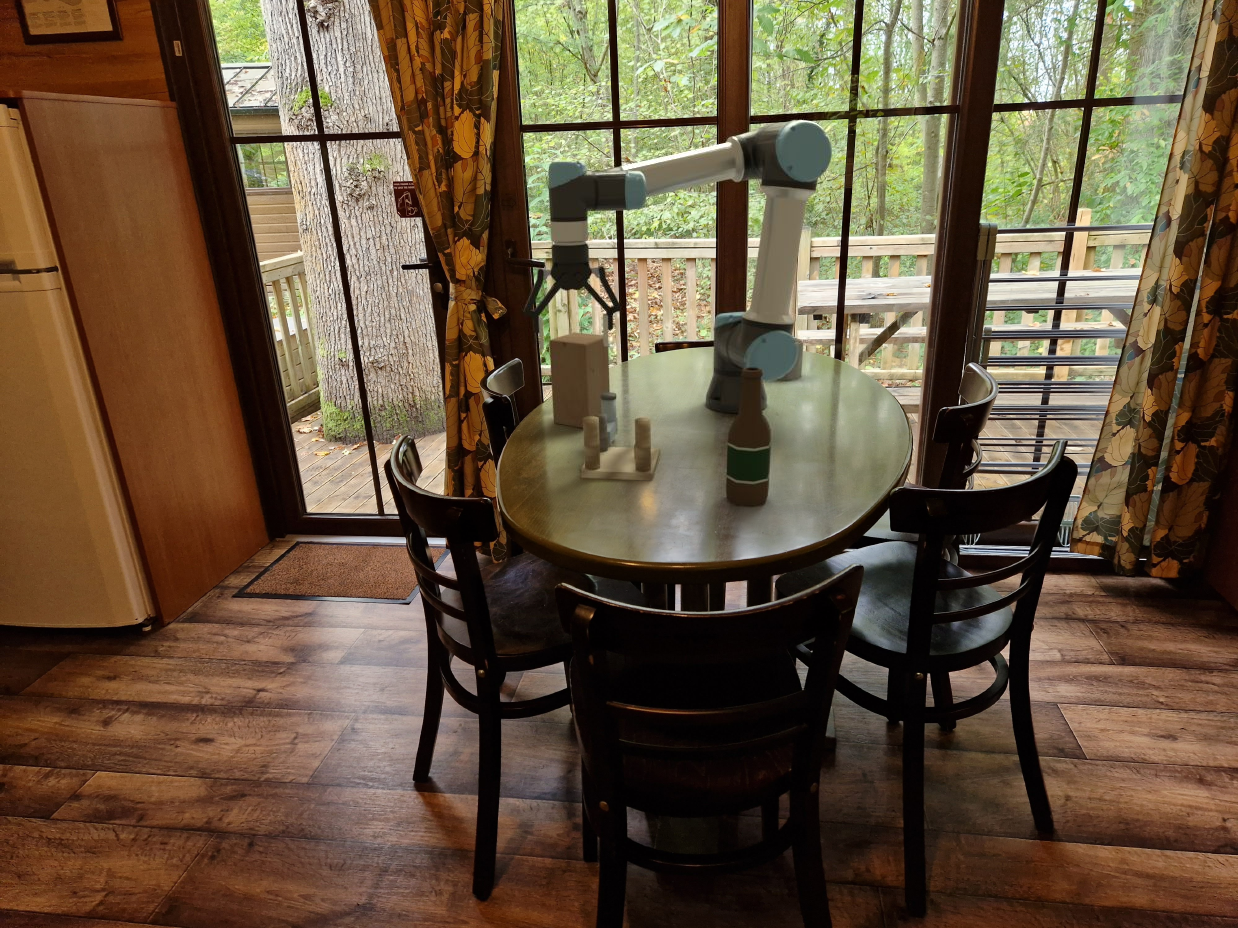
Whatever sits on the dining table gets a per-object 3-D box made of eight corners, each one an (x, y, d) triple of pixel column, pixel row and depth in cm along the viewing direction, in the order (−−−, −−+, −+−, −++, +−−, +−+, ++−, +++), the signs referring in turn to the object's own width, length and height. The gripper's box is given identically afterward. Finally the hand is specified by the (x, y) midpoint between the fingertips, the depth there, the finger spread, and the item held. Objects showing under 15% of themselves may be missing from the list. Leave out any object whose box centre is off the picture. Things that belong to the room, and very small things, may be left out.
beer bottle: (721, 491, 145) (724, 364, 136) (762, 489, 145) (768, 362, 137) (730, 508, 138) (734, 375, 129) (774, 506, 138) (781, 373, 130)
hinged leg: (618, 430, 174) (617, 392, 171) (611, 445, 165) (610, 405, 162) (603, 430, 174) (602, 391, 171) (595, 444, 165) (594, 404, 162)
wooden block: (587, 429, 181) (584, 343, 174) (552, 423, 186) (548, 339, 179) (611, 418, 189) (609, 335, 181) (577, 412, 194) (573, 331, 186)
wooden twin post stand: (660, 455, 164) (659, 402, 160) (652, 480, 151) (651, 423, 147) (594, 453, 166) (592, 400, 162) (580, 477, 153) (578, 421, 149)
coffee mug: (799, 371, 226) (801, 337, 223) (802, 380, 217) (805, 344, 213) (752, 371, 228) (753, 337, 224) (753, 380, 219) (755, 344, 215)
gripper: (628, 239, 164) (629, 340, 171) (507, 243, 160) (514, 346, 168) (633, 242, 157) (635, 347, 164) (507, 247, 154) (515, 353, 161)
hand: (574, 347), depth 166 cm, fingers open, 13 cm apart
